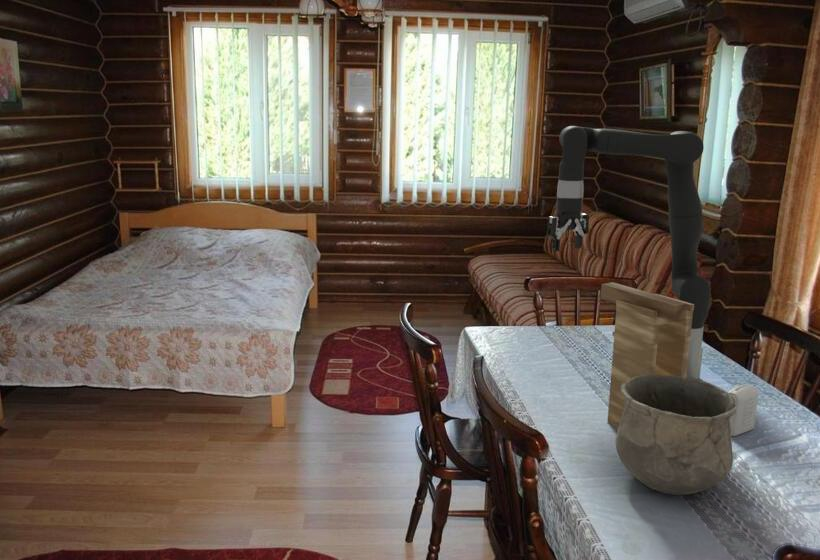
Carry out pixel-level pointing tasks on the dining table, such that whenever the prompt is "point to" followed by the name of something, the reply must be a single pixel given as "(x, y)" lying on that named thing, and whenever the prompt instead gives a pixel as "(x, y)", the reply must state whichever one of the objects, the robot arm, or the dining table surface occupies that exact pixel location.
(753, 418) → the photo printer
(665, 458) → the pot
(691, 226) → the robot arm
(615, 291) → the block
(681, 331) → the rack
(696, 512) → the dining table surface
